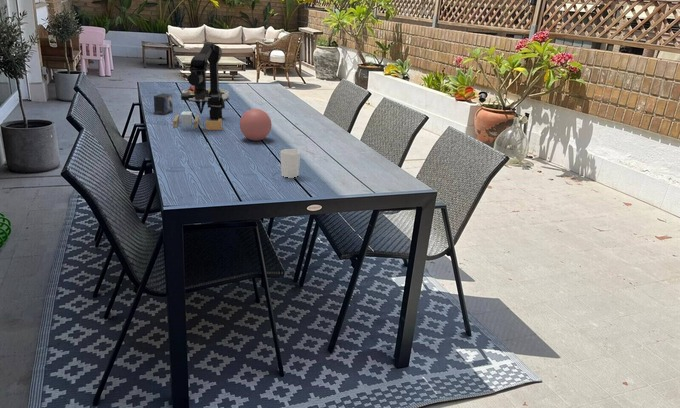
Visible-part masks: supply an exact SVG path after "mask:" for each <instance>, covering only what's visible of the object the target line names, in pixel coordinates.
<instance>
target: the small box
mask: <svg viewBox="0 0 680 408" xmlns="http://www.w3.org/2000/svg"><path fill="white" fill-rule="evenodd" d="M153 105H154V115H161V116H165V115H168V114H171V113H173V111H174V109H173V107H174V106H173V94H172V93H171V94H169V93H159V94H155V95H153Z"/></svg>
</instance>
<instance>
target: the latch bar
mask: <svg viewBox="0 0 680 408" xmlns="http://www.w3.org/2000/svg"><path fill="white" fill-rule="evenodd" d="M222 123H223V118H222V119H217V120H205V130H208V131H214V130H215V131H216V130H217V131H222V130H223V129H222V128H223V125H222Z"/></svg>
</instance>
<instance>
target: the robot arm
mask: <svg viewBox="0 0 680 408" xmlns="http://www.w3.org/2000/svg"><path fill="white" fill-rule="evenodd" d="M222 50H223V49H222V48H221V47H220V46H219V45H217V44H215V43H213V42H210V41H209V42H208V41H204V42H203V45H202V48H201V50H200V51H199V53H198V54H196V55H194V56H193V57H192V58H191V59H190V64H189V69H188V70H189V72H191V73H190V74H189V75H188V77H187V83H189V85H190V86H191V85H193V86H194V88H195V90H194V95H190V93H182V92H181V95H180V99H181V100H182V101H188V99H189V98H193V101H192V102H194V103H195V104H196V106H197V108H198V111H199V114H200V115H202V114H203V111H204V107H205V105H206V104H207V108H209V118H210V120H218V119H222V120H223V109H225V108H226V107H225V105H226V103H225V100H223V98H222V93H221V92H220V90H219V89H220V86H219V85H220V82H219V81H220V79H219V62H220V60H221V58H222V54H223V51H222ZM208 67H209V88H210V92H209V91H208V90H206V88H207V75H206V73H207V71H208ZM200 100H202V102H200Z"/></svg>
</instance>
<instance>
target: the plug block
mask: <svg viewBox="0 0 680 408" xmlns="http://www.w3.org/2000/svg"><path fill="white" fill-rule="evenodd" d="M180 120H181V126H182V127H183V126H184V127H187V126H191V127H192V125H193V111H182V112H181V113H180Z"/></svg>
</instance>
